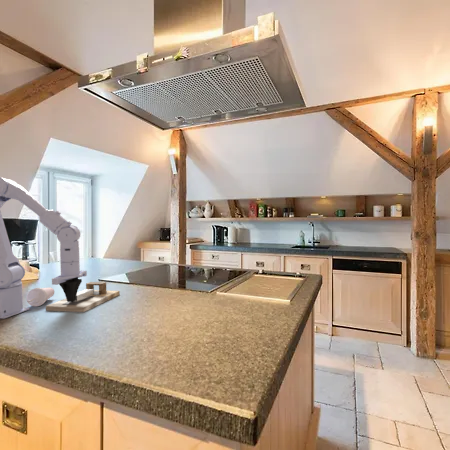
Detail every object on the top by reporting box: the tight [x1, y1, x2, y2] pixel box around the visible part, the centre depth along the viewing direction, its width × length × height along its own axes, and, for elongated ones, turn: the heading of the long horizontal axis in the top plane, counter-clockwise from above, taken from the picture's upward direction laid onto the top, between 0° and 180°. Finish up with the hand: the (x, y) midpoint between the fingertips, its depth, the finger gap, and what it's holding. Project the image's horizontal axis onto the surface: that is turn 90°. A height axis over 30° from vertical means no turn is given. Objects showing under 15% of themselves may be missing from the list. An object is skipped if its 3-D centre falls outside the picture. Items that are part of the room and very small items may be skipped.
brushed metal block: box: [73, 288, 93, 302], centre depth 105 cm, size 9×3×2 cm, turn 170°
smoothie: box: [26, 287, 55, 308], centre depth 105 cm, size 6×6×14 cm
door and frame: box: [45, 281, 121, 313], centre depth 107 cm, size 22×14×6 cm, turn 170°
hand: (71, 301), depth 100 cm, fingers closed
